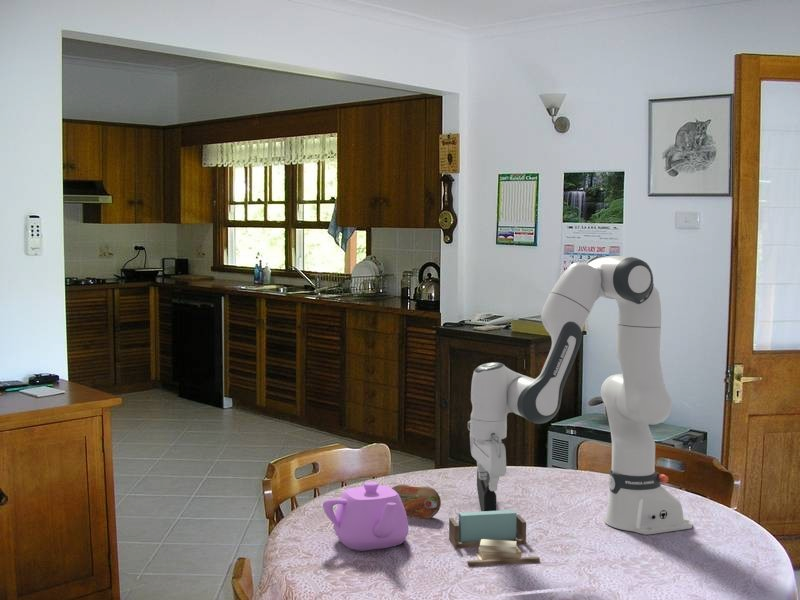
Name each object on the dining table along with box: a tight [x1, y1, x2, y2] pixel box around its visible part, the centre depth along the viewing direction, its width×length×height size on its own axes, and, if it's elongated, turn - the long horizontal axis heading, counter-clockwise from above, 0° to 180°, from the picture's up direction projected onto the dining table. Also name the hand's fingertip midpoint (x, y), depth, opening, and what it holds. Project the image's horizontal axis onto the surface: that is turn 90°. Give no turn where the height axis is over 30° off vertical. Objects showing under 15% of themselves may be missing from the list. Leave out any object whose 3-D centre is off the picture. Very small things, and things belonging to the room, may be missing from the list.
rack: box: [448, 514, 541, 567], centre depth 213 cm, size 18×18×6 cm
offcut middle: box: [477, 545, 522, 560], centre depth 209 cm, size 9×5×2 cm, turn 99°
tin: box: [391, 483, 442, 520], centre depth 240 cm, size 15×3×8 cm, turn 68°
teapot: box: [322, 481, 409, 552], centre depth 215 cm, size 23×21×15 cm
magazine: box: [476, 467, 498, 512], centre depth 245 cm, size 17×3×30 cm
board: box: [458, 509, 517, 542], centre depth 218 cm, size 14×2×8 cm, turn 100°
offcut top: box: [479, 539, 518, 554], centre depth 209 cm, size 8×4×2 cm, turn 80°
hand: (487, 484), depth 218 cm, fingers open, 8 cm apart
